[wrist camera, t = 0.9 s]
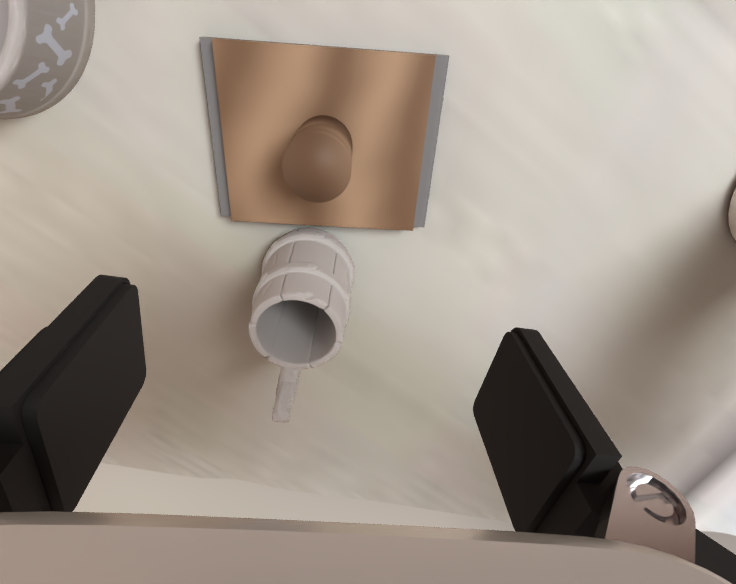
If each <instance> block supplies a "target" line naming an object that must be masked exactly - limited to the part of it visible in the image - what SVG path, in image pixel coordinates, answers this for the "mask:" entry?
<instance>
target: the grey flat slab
mask: <svg viewBox="0 0 736 584" xmlns="http://www.w3.org/2000/svg"><path fill="white" fill-rule="evenodd" d="M199 38H200V46H201V54H202V62H203V70H204V79H205V87H206V95H207V103H208V111H209V119H210V128H211V136H212V144H213V152H214V160H215V168H216V177H217V185H218V193H219V201H220V209H221V216H228V217H231V210H230V201H229V192H228V183H227V173H226V164H225V155H224V146H223V137H222V128H221V119H220V110H219V100H218V91H217V82H216V73H215V64H214V55H213V46H212V37H199ZM219 39H226V38H219ZM232 40H239V39H232ZM246 41H252V40H246ZM259 42H265V41H259ZM272 43H279V42H272ZM285 44H292V43H285ZM299 45H305V44H299ZM312 46H318V45H312ZM325 47H331V46H325ZM338 48H345V47H338ZM351 49H358V48H351ZM365 50H371V49H365ZM378 51H384V50H378ZM391 52H397V51H391ZM404 53H411V52H404ZM417 54H424V53H417ZM431 55H436V59H435V66H434V74H433V81H432V89H431V97H430V104H429V112H428V119H427V127H426V135H425V142H424V150H423V158H422V165H421V173H420V180H419V188H418V196H417V203H416V211H415V219H414V226H413V227H424V225H425V219H426V212H427V205H428V198H429V191H430V184H431V177H432V171H433V164H434V157H435V150H436V143H437V136H438V129H439V122H440V116H441V109H442V102H443V95H444V88H445V81H446V74H447V68H448V61H449V56H448V55H437V54H431Z"/></svg>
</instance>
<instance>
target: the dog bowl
mask: <svg viewBox="0 0 736 584" xmlns="http://www.w3.org/2000/svg"><path fill="white" fill-rule="evenodd" d="M94 28H95V0H0V118H1V119H8V118H20V117H26V116H30V115H34V114H37V113H40V112H42V111H44V110H46V109H48V108H50V107H52V106H54V105H55V104H57V103H58V102H59V101H61V100H62V99H63V98H64V97H65V96H66V95H67V94H68V93H69V92H70V91H71V90H72V89H73V88H74V86H75V85H76V84H77V82H78V81H79V79H80V77H81V76H82V74H83V72H84V69H85V67H86V65H87V62H88V59H89V56H90V53H91V48H92V44H93V37H94Z"/></svg>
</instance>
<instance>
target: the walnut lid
mask: <svg viewBox="0 0 736 584" xmlns="http://www.w3.org/2000/svg"><path fill="white" fill-rule="evenodd" d="M212 46H213V55H214V64H215V73H216V82H217V91H218V100H219V110H220V119H221V128H222V137H223V146H224V155H225V164H226V173H227V183H228V192H229V201H230V210H231V219H232V221H246V222H264V223H283V224H301V225H320V226H338V227H356V228H375V229H393V230H411V231H413V226H414V219H415V211H416V203H417V196H418V188H419V180H420V173H421V165H422V158H423V150H424V142H425V135H426V127H427V119H428V112H429V104H430V97H431V89H432V81H433V74H434V66H435V59H436V55H431V54H417V53H404V52H391V51H378V50H365V49H351V48H338V47H325V46H312V45H299V44H285V43H272V42H259V41H246V40H232V39H219V38H212Z"/></svg>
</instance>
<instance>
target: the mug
mask: <svg viewBox="0 0 736 584" xmlns="http://www.w3.org/2000/svg"><path fill="white" fill-rule="evenodd" d="M354 275H355V273H354V264H353V261H352V259H351V257H350V255H349V253H348V251H347V249H346V248H345V246H344V245H343V244H342V243H341V242H338V239H337V238H336V237H335V236H334V235H332V234H330V233H328V232H325V231H323V230H320V229H316V228H299V229H298V231H297V229H295V230H292V231H291V232H289V233H287V234H285V235H284V236H282V237H280V238H279V239H278V240H276V241H275V242H274V243H273V244H272V245H271V246H270V248H269V249H268V251H267V253H266V255H265V257H264V260H263V264H262V277H261V278H260V281H259V283H258V285H257V287H256V289H255V292H254V294H253V299H252V314H251V318H250V322H249V336H250V339H251V341H252V344H253V345H254V347H255V348H256V350H257V351H258V352H259V353H260V354H261V355H262V356H263V357H267V356H268V357H267V359H268V360H269V361H271V362H272V363H274V364H276V365H279V366H282V368H281V372H280V375H279V379H278V385H277V389H276V400H275V404H274V408H273V415H272V420H273V421H277V422H288V421H289V418H290V410H291V406H292V401H293V399H294V397H295V393H296V388H297V384H298V378H299V375H300V370H301V369H307V368H310V367H311V368H314V367H315V366H319V365H321V364H323V363H325V362H326V361H328V360H330V359H331V358H332V357H334V356H335V354H336V353H337V352H338V350H339V349H340V347H341V344H342V341H343V337H344V328H345V327H346V325H347V322H348V319H349V315H350V299H351V297H350V292H351V290H352V288H353V284H354Z"/></svg>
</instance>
